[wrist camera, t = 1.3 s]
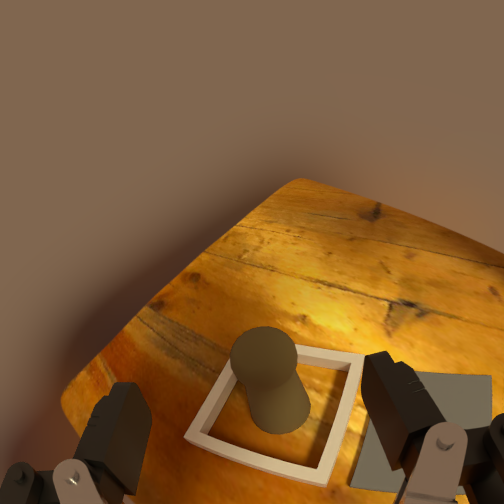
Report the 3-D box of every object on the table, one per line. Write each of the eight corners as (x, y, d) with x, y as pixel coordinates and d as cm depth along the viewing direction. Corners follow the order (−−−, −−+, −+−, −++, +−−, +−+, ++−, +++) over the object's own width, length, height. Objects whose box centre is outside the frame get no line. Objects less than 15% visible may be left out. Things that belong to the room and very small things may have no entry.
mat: (380, 370, 28) (381, 367, 28) (489, 377, 23) (491, 375, 22) (349, 487, 19) (349, 486, 19) (481, 493, 13) (483, 492, 13)
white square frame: (246, 343, 36) (243, 334, 35) (363, 364, 30) (364, 354, 29) (190, 443, 26) (183, 437, 25) (325, 487, 20) (325, 484, 19)
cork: (316, 387, 29) (308, 318, 23) (302, 439, 24) (288, 386, 18) (261, 379, 31) (236, 311, 25) (242, 427, 27) (206, 370, 21)
